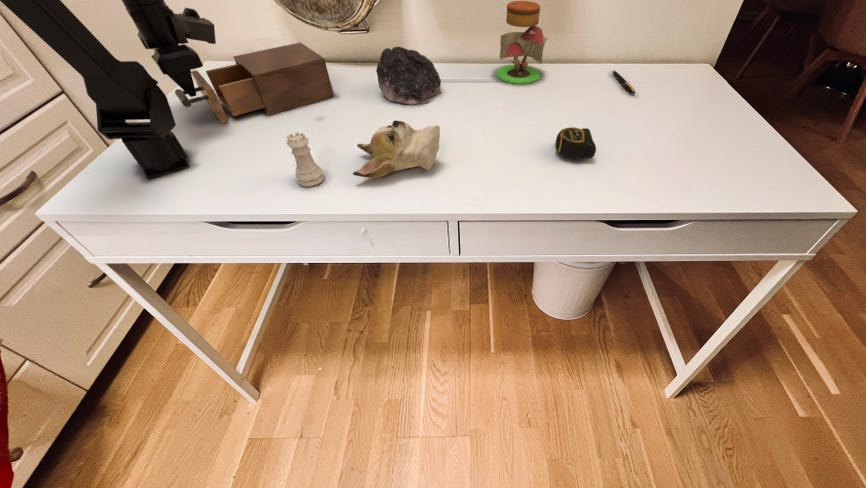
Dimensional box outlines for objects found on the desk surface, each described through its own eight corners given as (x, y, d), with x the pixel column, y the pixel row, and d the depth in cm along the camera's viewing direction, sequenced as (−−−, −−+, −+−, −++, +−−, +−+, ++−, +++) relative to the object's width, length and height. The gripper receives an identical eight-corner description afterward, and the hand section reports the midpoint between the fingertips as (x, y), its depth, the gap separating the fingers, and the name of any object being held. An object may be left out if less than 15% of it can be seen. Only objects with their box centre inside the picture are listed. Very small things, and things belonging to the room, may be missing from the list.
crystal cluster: (451, 100, 89) (451, 51, 82) (397, 109, 83) (392, 57, 76) (422, 84, 97) (420, 39, 91) (371, 92, 91) (365, 44, 84)
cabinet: (269, 115, 81) (253, 75, 75) (249, 95, 88) (232, 56, 82) (334, 97, 88) (324, 58, 82) (311, 79, 94) (300, 42, 88)
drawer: (197, 129, 75) (179, 96, 71) (182, 108, 81) (165, 77, 76) (289, 104, 83) (278, 73, 78) (270, 86, 89) (258, 56, 84)
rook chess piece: (330, 180, 66) (316, 136, 60) (306, 191, 64) (289, 146, 58) (316, 169, 68) (301, 126, 62) (292, 180, 66) (274, 136, 60)
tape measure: (593, 164, 70) (598, 145, 68) (555, 162, 70) (559, 143, 68) (588, 144, 75) (592, 126, 72) (552, 143, 75) (555, 124, 72)
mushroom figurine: (547, 85, 93) (557, 12, 82) (495, 84, 93) (498, 11, 82) (543, 66, 101) (551, -2, 90) (494, 66, 101) (497, -3, 90)
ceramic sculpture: (440, 132, 59) (341, 143, 59) (446, 180, 66) (357, 191, 65) (436, 102, 67) (347, 111, 66) (442, 148, 73) (361, 157, 72)
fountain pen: (609, 72, 99) (610, 66, 98) (613, 72, 99) (615, 66, 98) (631, 96, 90) (633, 90, 89) (636, 96, 90) (638, 89, 89)
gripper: (211, 5, 64) (251, 101, 75) (183, -16, 73) (222, 71, 85) (132, 18, 59) (188, 118, 70) (113, -8, 68) (165, 84, 80)
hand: (193, 95), depth 76 cm, fingers closed
